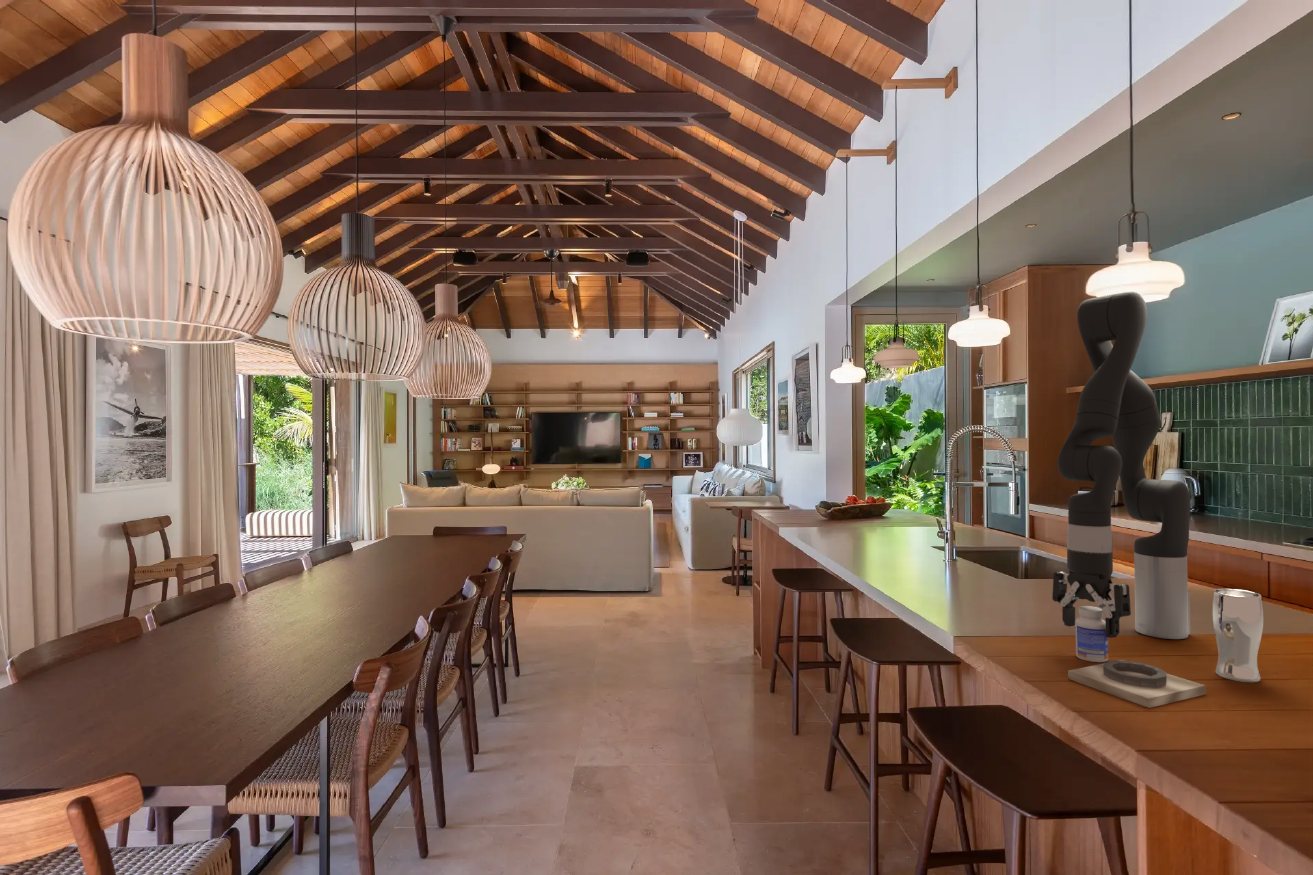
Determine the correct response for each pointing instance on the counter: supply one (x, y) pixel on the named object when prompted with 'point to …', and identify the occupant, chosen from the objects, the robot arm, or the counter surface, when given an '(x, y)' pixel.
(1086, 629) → the pill bottle
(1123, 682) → the collar base
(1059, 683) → the counter surface
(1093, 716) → the counter surface
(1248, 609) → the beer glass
